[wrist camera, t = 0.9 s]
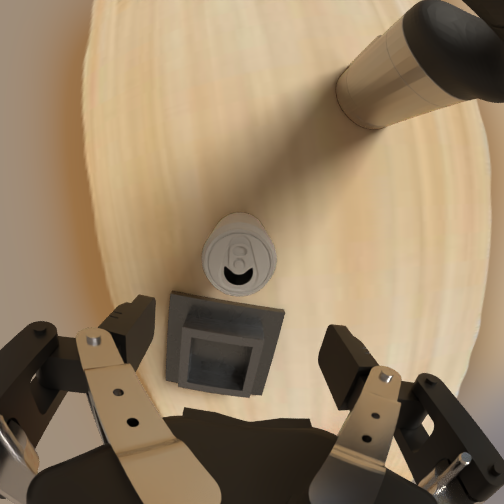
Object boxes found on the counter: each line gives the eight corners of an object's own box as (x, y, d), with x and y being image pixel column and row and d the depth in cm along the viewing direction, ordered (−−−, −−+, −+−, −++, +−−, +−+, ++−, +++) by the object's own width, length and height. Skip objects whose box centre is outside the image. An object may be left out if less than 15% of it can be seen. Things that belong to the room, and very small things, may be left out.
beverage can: (212, 261, 34) (199, 299, 22) (214, 210, 33) (200, 222, 21) (263, 264, 34) (275, 303, 23) (267, 212, 33) (282, 227, 21)
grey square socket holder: (172, 290, 35) (163, 304, 30) (283, 309, 36) (289, 325, 32) (167, 376, 38) (160, 394, 34) (261, 391, 39) (263, 410, 35)
